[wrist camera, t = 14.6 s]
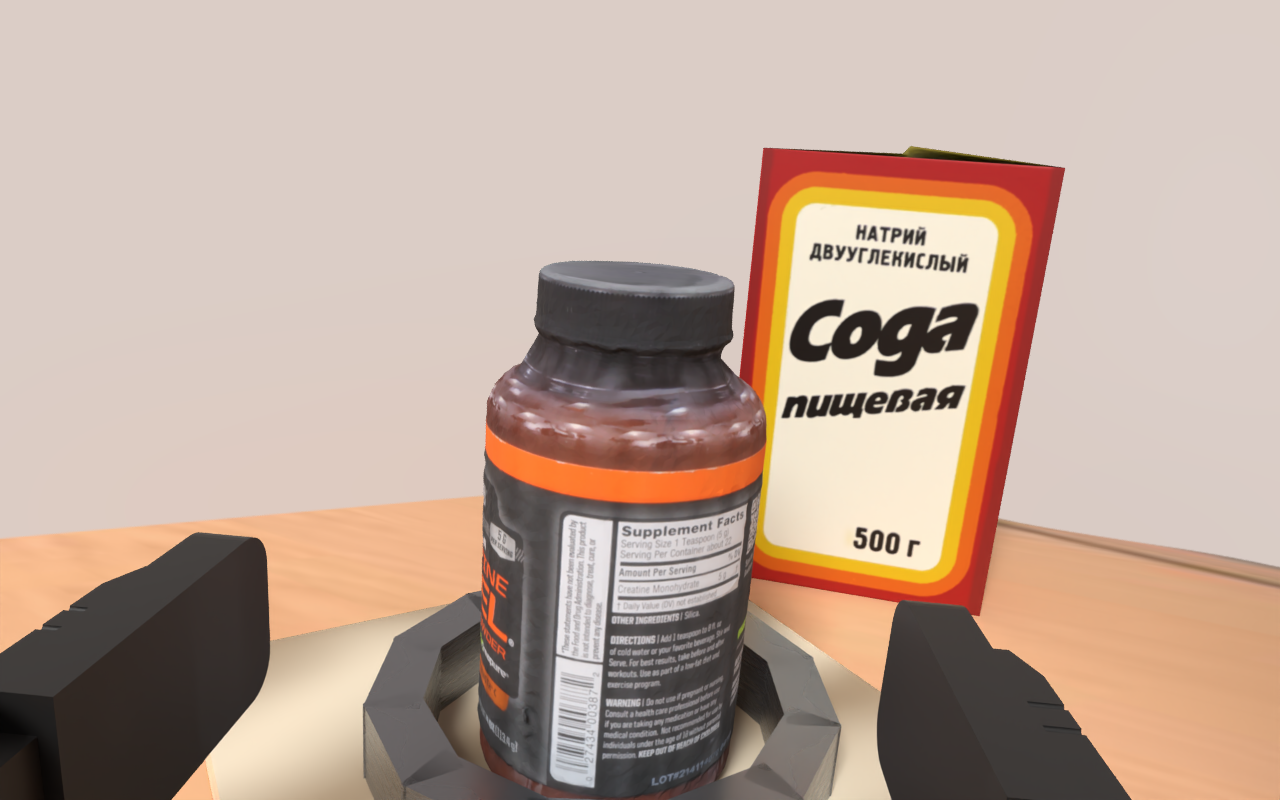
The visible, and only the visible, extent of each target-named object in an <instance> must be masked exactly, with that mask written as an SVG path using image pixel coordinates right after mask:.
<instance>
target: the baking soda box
mask: <svg viewBox="0 0 1280 800" xmlns="http://www.w3.org/2000/svg"><path fill="white" fill-rule="evenodd" d="M1064 171H1065V168H1061V167H1054V166H1048V165H1040V164H1033V163H1026V162H1019V161H1011V160H1005V159H998V158H991V157H984V156H976V155H970V154H963V153H956V152H949V151H941V150H934V149H927V148H920V147H913V146H911V147H909V148H908V149H907V150H906V151H905V152H904V153H903V154H897V153H895V154H894V153H873V152H848V151H826V150H802V149H779V148H763V157H762V168H761V177H760V186H759V196H758V206H757V215H756V225H755V234H754V243H753V244H754V245H753V253H752V262H751V272H750V281H749V291H748V301H747V310H746V321H745V329H744V339H743V349H742V358H741V368H740V378H741V379H743V380H744V381H745V382H746V383H747V384H749V385H750V386H751V387H752V388H753V390H754V391H755V392H756V393H757V395H758V396H759V398H760V400H761V402H762V404H763V407H764V410H765V414H766V424H767V426H766V438H767V442H766V450H765V459H764V467H763V484H762V488H761V496H760V505H759V514H758V522H757V531H756V539H755V547H754V556H753V567H752V575H751V578H757V579H763V580H769V581H775V582H781V583H787V584H793V585H799V586H805V587H810V588H816V589H822V590H828V591H834V592H840V593H846V594H852V595H858V596H864V597H870V598H876V599H882V600H887V601H893V602H900V601H901V600H909V601H920V602H931V603H941V604H952V605H962V606H964V607H966V608H967V610H968V611H969V613H970V614H971V615H976V616H980V610H981V605H982V600H983V595H984V589H985V584H986V579H987V574H988V569H989V563H990V558H991V553H992V548H993V542H994V537H995V532H996V527H997V522H998V516H999V510H1000V506H1001V501H1002V495H1003V489H1004V485H1005V479H1006V474H1007V469H1008V464H1009V458H1010V454H1011V448H1012V443H1013V438H1014V432H1015V427H1016V422H1017V417H1018V412H1019V406H1020V401H1021V395H1022V391H1023V386H1024V380H1025V375H1026V369H1027V364H1028V359H1029V354H1030V349H1031V344H1032V338H1033V333H1034V328H1035V323H1036V318H1037V312H1038V307H1039V302H1040V297H1041V291H1042V286H1043V281H1044V276H1045V270H1046V265H1047V260H1048V255H1049V250H1050V244H1051V239H1052V234H1053V229H1054V223H1055V218H1056V213H1057V208H1058V202H1059V197H1060V191H1061V187H1062V182H1063V176H1064Z"/></svg>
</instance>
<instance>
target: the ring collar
mask: <svg viewBox="0 0 1280 800" xmlns="http://www.w3.org/2000/svg"><path fill="white" fill-rule="evenodd" d="M481 604H482V591H478V592H473V593H468V594H466V595H464V596H463V597H461V598H459V599H458V600H456V601H454V602H453V603H451V604H449V605H448V606H446V607H444V608H443V609H441V610H439V611H438V612H436V613H434V614H433V615H431V616H429V617H428V618H426V619H424V620H423V621H421V622H419V623H418V624H416V625H414V626H413V627H411V628H409V629H408V630H406V631H404V632H403V633H401V634H399V635H398V636H395V637H394V638H393V642H392V644H391V647H390V649H389V651H388V653H387V655H386V657H385V660H384V662H383V664H382V666H381V668H380V670H379V673H378V675H377V677H376V679H375V681H374V683H373V686H372V688H371V690H370V692H369V694H368V696H367V699H366V701H365V703H363V779H365V780H366V782H367V784H368V786H369V789H370V791H371V793H372V796H373V798H374V800H596V799H569V798H547V797H545V796H543V795H541V794H539V793H537V792H534V791H532V790H530V789H528V788H526V787H524V786H521V785H519V784H517V783H515V782H513V781H511V780H508V779H506V778H504V777H502V776H500V775H498V774H495V773H493V772H491V771H489V770H487V769H484V768H482V767H480V766H478V765H476V764H474V763H471V762H469V761H467V760H465V759H463V758H461V757H458V755H457V754H456V752H455V751H454V749H453V747H452V746H451V744H450V742H449V741H448V739H447V737H446V736H445V734H444V732H443V731H442V729H441V727H440V726H439V724H438V722H437V721H438V718H439V715H440V711H441V710H443V709H444V708H445V707H447V706H448V705H449V704H451V703H452V702H453V701H455V700H456V699H457V698H459V697H460V696H461V695H463V694H464V693H465V692H467V691H468V690H469V689H471V688H472V687H473V686H475V685H476V684H477V683H479V670H480V641H481V637H480V636H481V634H480V621H481ZM813 659H814V658H813V657H812V656H811V655H809V654H808V653H806V652H805V651H803V650H802V649H801V648H799V647H798V646H796V645H795V644H794V643H792V642H791V641H789V640H788V639H787V638H785V637H784V636H782V635H781V634H780V633H778V632H777V631H775V630H774V629H773V628H771V627H770V626H768V625H767V624H766V623H764V622H763V621H762V620H760V619H759V618H757V617H756V616H755V615H753V614H752V613H750V612H749V611H748V610H747V616H746V624H745V632H744V642H743V651H742V657H741V666H740V675H739V684H738V695H737V700H736V705H737V706H739V707H740V708H741V709H742V710H743V711H744V712H745V713H747V714H748V715H749V716H750V717H751V718H752V719H753V720H755V721H756V722H757V723H758V724H759V725H760V729H761V732H762V736H763V740H764V743H765V745H764V747H763V748H762V750H761V751H760V753H759V754H758V756H757V758H756V759H755V761H754V762H753V764H752V765H751V767H750V768H748V769H746V770H743V771H740V772H738V773H735V774H733V775H730V776H728V777H725V778H722V779H720V780H717V781H715V782H712V783H709V784H707V785H704V786H702V787H699V788H696V789H694V790H691V791H689V792H686V793H683V794H681V795H678V796H676V797H673V798H670V799H668V800H828V799H829V796H831V793H832V786H833V780H834V773H835V767H836V760H837V753H838V747H839V740H840V734H841V724H840V722H839V720H838V717H837V715H836V713H835V710H834V708H833V706H832V703H831V701H830V698H829V696H828V694H827V691H826V689H825V686H824V684H823V682H822V679H821V677H820V674H819V672H818V670H817V667H816V665H815V662H814V660H813Z"/></svg>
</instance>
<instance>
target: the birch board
mask: <svg viewBox="0 0 1280 800" xmlns="http://www.w3.org/2000/svg"><path fill="white" fill-rule="evenodd" d="M448 605H449V604H446V605H441V606H437V607H432V608H427V609H422V610H417V611H412V612H408V613H403V614H398V615H393V616H388V617H384V618H379V619H374V620H369V621H364V622H359V623H355V624H350V625H345V626H340V627H335V628H330V629H326V630H321V631H316V632H311V633H306V634H302V635H297V636H292V637H287V638H282V639H277V640H273V641H270V659H269V666H268V670H267V674H266V677H265V680H264V683H263V686H262V688H261V690H260V692H259V694H258V696H257V697H256V699H255V700H254V702H253V703H252V704H251V705H250V706H249V708H248V709H247V710H246V711H245V712H244V714H243V715H242V716H241V717H240V718H239V720H238V721H237V722H236V723H235V724H234V726H233V727H232V728H231V729H230V730H229V732H228V733H227V734H226V735H225V736H224V737H223V739H222V740H221V741H220V742H219V743H218V745H217V746H216V747H215V748H214V749H213V751H212V752H211V753H210V754H209V755H208V757H207V758H206V759H205V761H206V766H207V771H208V776H209V781H210V786H211V791H212V796H213V800H374V798H373V796H372V793H371V791H370V789H369V786H368V784H367V782H366V780H365V779H363V703H365V701H366V699H367V696H368V694H369V692H370V690H371V688H372V686H373V683H374V681H375V679H376V677H377V675H378V673H379V670H380V668H381V666H382V664H383V662H384V660H385V657H386V655H387V653H388V651H389V649H390V647H391V644H392V642H393V638H394V637H395V636H398V635H399V634H401V633H403V632H404V631H406V630H408V629H409V628H411V627H413V626H414V625H416V624H418V623H419V622H421V621H423V620H424V619H426V618H428V617H429V616H431V615H433V614H434V613H436V612H438V611H439V610H441V609H443V608H444V607H446V606H448ZM747 610H748V611H749V612H750V613H752V614H753V615H755V616H756V617H757V618H759V619H760V620H762V621H763V622H764V623H766V624H767V625H768V626H770V627H771V628H773V629H774V630H775V631H777V632H778V633H780V634H781V635H782V636H784V637H785V638H787V639H788V640H789V641H791V642H792V643H794V644H795V645H796V646H798V647H799V648H801V649H802V650H803V651H805V652H806V653H808V654H809V655H811V656H812V657H813V658H814V659H813V660H814V662H815V665H816V667H817V670H818V672H819V674H820V677H821V679H822V682H823V684H824V686H825V689H826V691H827V694H828V696H829V698H830V701H831V703H832V706H833V708H834V710H835V713H836V715H837V717H838V720H839V722H840V724H841V734H840V740H839V747H838V753H837V760H836V767H835V773H834V780H833V786H832V793H831V796H829V799H828V800H891V797H890V794H889V791H888V788H887V784H886V781H885V778H884V775H883V772H882V769H881V766H880V762H879V756H878V748H877V715H878V707H879V701H880V695H881V692H880V691H878V690H877V689H875V688H874V687H873V686H871V685H870V684H868V683H867V682H865V681H864V680H863V679H861V678H860V677H858V676H857V675H855V674H854V673H853V672H851V671H850V670H848V669H847V668H845V667H844V666H843V665H841V664H840V663H838V662H837V661H835V660H834V659H833V658H831V657H830V656H828V655H827V654H825V653H824V652H823V651H821V650H820V649H818V648H817V647H815V646H814V645H813V644H811V643H810V642H808V641H807V640H805V639H804V638H803V637H801V636H800V635H798V634H797V633H795V632H794V631H793V630H791V629H790V628H788V627H787V626H785V625H784V624H782V623H781V622H780V621H778V620H777V619H775V618H774V617H772V616H771V615H770V614H768V613H767V612H765V611H764V610H762V609H761V608H760V607H758V606H757V605H755V604H754V603H752V602H751V601H750V600H748V609H747ZM478 686H479V683H477V684H476V685H475V686H473V687H472V688H471V689H469V690H468V691H467V692H465V693H464V694H463V695H461V696H460V697H459V698H457V699H456V700H455V701H453V702H452V703H451V704H449V705H448V706H447V707H445V708H444V709H443V710H441V711H440V715H439V718H438V721H437V722H438V724H439V726H440V727H441V729H442V731H443V732H444V734H445V736H446V737H447V739H448V741H449V742H450V744H451V746H452V747H453V749H454V751H455V752H456V754H457V755H458V757H461V758H463V759H465V760H467V761H469V762H471V763H474V764H476V765H478V766H480V767H482V768H484V769H487V770H489V771H491V770H490V768H489V767H488V765H487V763H486V761H485V758H484V755H483V751H482V748H481V744H480V722H479V717H478V711H477V707H478V702H479V695H478ZM764 745H765V743H764V740H763V736H762V732H761V729H760V725H759V724H758V723H757V722H756V721H755V720H753V719H752V718H751V717H750V716H749V715H748V714H747V713H745V712H744V711H743V710H742V709H741V708H740V707H739V706H737V705H736V707H735V717H734V726H733V732H732V736H731V741H730V747H729V754H728V757H727V761H726V764H725V767H724V769H723V770H722V772H721V774H720V776H719V778H718V779H717V780H720V779H722V778H725V777H728V776H730V775H733V774H735V773H738V772H740V771H743V770H746V769H748V768H750V767H751V765H752V764H753V762H754V761H755V759H756V758H757V756H758V754H759V753H760V751H761V750H762V748H763V747H764ZM717 780H716V781H717Z"/></svg>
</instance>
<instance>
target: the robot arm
mask: <svg viewBox="0 0 1280 800" xmlns="http://www.w3.org/2000/svg"><path fill="white" fill-rule="evenodd" d="M269 659H270V628H269V602H268V576H267V556H266V551H265V548H264V545H263V543H262V542H261V541H260V540H259V539H258V538H253V537H242V536H232V535H221V534H211V533H199V532H198V533H194V534H192V535H190V536H189V537H187V538H186V539H185V540H183V541H182V542H180V543H179V544H178V545H176V546H175V547H173V548H172V549H171V550H169V551H168V552H166V553H165V554H163V555H162V556H161V557H159V558H158V559H156V560H155V561H154V562H152V563H151V564H149V565H148V566H145V567H143V568H140V569H138V570H135V571H133V572H130V573H128V574H125V575H123V576H120V577H118V578H115V579H113V580H110V581H108V582H105V583H103V584H101V585H100V586H98V587H97V588H95V589H94V590H92V591H91V592H89V593H88V594H87V595H85V596H84V597H82V598H81V599H79V600H78V601H76V602H75V603H73V604H72V605H70V609H69V611H66V610H63V611H62V612H60V613H59V614H57V615H56V616H54V617H53V618H52V619H50V620H49V621H47V622H46V623H44V624H43V627H42V629H41V630H36V629H35V630H34V631H33V632H31V633H30V634H28V635H27V636H25V637H24V638H22V639H21V640H19V641H18V642H17V643H15V644H14V645H12V646H11V647H9V648H8V649H6V650H5V651H3V652H2V653H0V800H171V799H172V798H173V797H174V796H175V795H176V794H177V792H178V791H179V790H180V789H181V788H182V786H183V785H184V784H185V783H186V782H187V780H188V779H189V778H190V777H191V776H192V774H193V773H194V772H195V771H196V770H197V768H198V767H199V766H200V765H201V764H202V763H203V761H204V760H205V759H206V758H207V757H208V755H209V754H210V753H211V752H212V751H213V749H214V748H215V747H216V746H217V745H218V743H219V742H220V741H221V740H222V739H223V737H224V736H225V735H226V734H227V733H228V732H229V730H230V729H231V728H232V727H233V726H234V724H235V723H236V722H237V721H238V720H239V718H240V717H241V716H242V715H243V714H244V712H245V711H246V710H247V709H248V708H249V706H250V705H251V704H252V703H253V702H254V700H255V699H256V697H257V696H258V694H259V692H260V690H261V688H262V686H263V683H264V680H265V677H266V674H267V670H268V666H269ZM877 748H878V756H879V762H880V766H881V769H882V772H883V775H884V778H885V781H886V784H887V788H888V791H889V794H890V797H891V800H1131V798H1130V797H1129V795H1128V794H1127V793H1126V791H1125V790H1124V788H1123V787H1122V786H1121V784H1120V783H1119V781H1118V780H1117V779H1116V777H1115V776H1114V774H1113V773H1112V771H1111V770H1110V769H1109V767H1108V766H1107V764H1106V763H1105V762H1104V760H1103V759H1102V757H1101V756H1100V755H1099V753H1098V752H1097V750H1096V749H1095V748H1094V746H1093V745H1092V743H1091V742H1090V741H1089V739H1088V738H1087V736H1086V735H1082V734H1081V728H1080V727H1079V725H1078V724H1077V722H1076V721H1075V719H1074V718H1073V717H1072V715H1071V714H1070V712H1069V711H1067V710H1064V704H1063V703H1062V701H1061V700H1060V698H1059V697H1058V696H1057V694H1056V693H1055V691H1054V690H1053V689H1052V687H1051V686H1050V684H1049V683H1048V682H1047V680H1046V679H1045V677H1044V676H1043V675H1041V674H1040V673H1039V672H1037V671H1036V670H1035V669H1033V668H1032V667H1031V666H1029V665H1028V664H1027V663H1025V662H1024V661H1023V660H1021V659H1020V658H1019V657H1017V656H1016V655H1015V654H1013V653H1012V652H1011V651H1009V650H1002V649H993V648H992V647H991V645H990V644H989V642H988V640H987V639H986V637H985V636H984V634H983V633H982V631H981V630H980V628H979V627H978V625H977V623H976V622H975V620H974V619H973V617H972V616H971V614H970V613H969V611H968V610H967V608H966V607H964V606H962V605H952V604H941V603H931V602H920V601H909V600H901V601H900V602H899V603H898V605H897V607H896V610H895V613H894V617H893V622H892V628H891V634H890V641H889V647H888V653H887V659H886V665H885V671H884V677H883V683H882V689H881V695H880V701H879V707H878V715H877Z"/></svg>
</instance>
